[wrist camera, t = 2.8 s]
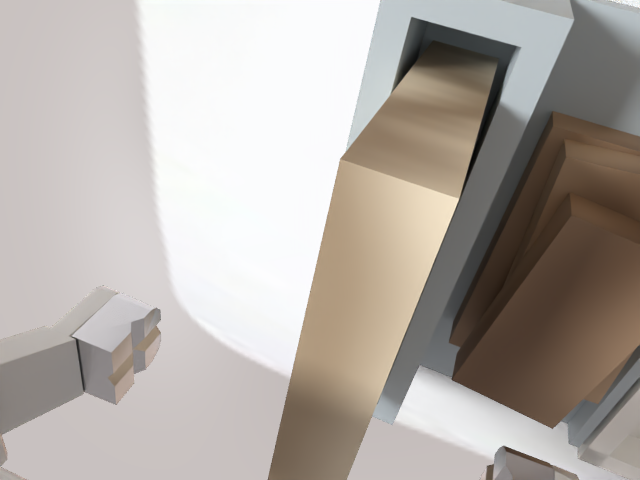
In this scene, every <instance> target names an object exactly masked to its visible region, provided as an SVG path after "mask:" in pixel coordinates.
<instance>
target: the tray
mask: <svg viewBox="0 0 640 480" xmlns="http://www.w3.org/2000/svg"><path fill="white" fill-rule="evenodd" d="M577 448H578V459H580V460H583V461H585V462H588V463H590V464H593V465H595V466H597V467H600V468H602V469H605V470H607V471H610V472H612V473H615V474H617V475H620V476H622V477H624V478H627V479H629V480H640V377H639V378H638V379H637V380H636V382H635V383H634V384H633V385H632V386H631V387H630V389H629V390H628V391H627V392H626V393H625V394H624V396H623V397H622V398H621V399H620V400H619V401H618V403H617V404H616V405H615V406H614V407H613V408H612V410H611V411H610V412H609V413H608V414H607V415H606V417H605V418H604V419H603V420H602V421H601V422H600V424H599V425H598V426H597V427H596V428H595V429H594V431H593V432H592V433H591V434H590V435H589V436H588V438H587V439H586V440H585V441H584V442H583V443H582V445H581V446H580V447H577Z"/></svg>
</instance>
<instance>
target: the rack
mask: <svg viewBox="0 0 640 480" xmlns="http://www.w3.org/2000/svg"><path fill="white" fill-rule="evenodd" d="M433 40H435V41H439V42H442V43H446V44H449V45H453V46H456V47H460V48H463V49H467V50H470V51H474V52H477V53H481V54H485V55H488V56H492V57H495V58H499V61H498V64H497V68H496V71H495V75H494V78H493V82H492V85H491V89H490V92H489V96H488V100H487V103H486V107H485V110H484V114H483V117H482V121H481V124H480V128H479V131H478V135H477V138H476V142H475V145H474V149H473V152H472V156H471V160H470V163H469V167H468V170H467V174H466V177H465V181H464V184H463V188H462V191H461V195H460V198H459V201H458V203H457V206H456V208H455V211H454V213H453V216H452V218H451V221H450V223H449V226H448V228H447V231H446V233H445V236H444V238H443V241H442V243H441V246H440V248H439V251H438V253H437V256H436V258H435V261H434V263H433V266H432V268H431V271H430V273H429V276H428V278H427V281H426V283H425V286H424V288H423V291H422V293H421V296H420V298H419V301H418V303H417V306H416V308H415V311H414V313H413V315H412V318H411V320H410V323H409V325H408V328H407V330H406V333H405V335H404V338H403V340H402V343H401V345H400V348H399V350H398V353H397V355H396V358H395V360H394V363H393V365H392V368H391V370H390V373H389V375H388V378H387V380H386V383H385V385H384V388H383V390H382V393H381V395H380V398H379V400H378V403H377V405H376V408H375V410H374V413H373V415H372V417H375V418H377V419H380V420H382V421H384V422H387V423H389V424H391V425H392V424H393V422H394V420H395V418H396V416H397V414H398V411H399V409H400V407H401V405H402V402H403V400H404V398H405V396H406V394H407V391H408V389H409V387H410V385H411V382H412V380H413V378H414V376H415V373H416V371H417V369H418V367H419V365H422V366H424V367H427V368H429V369H432V370H434V371H437V372H439V373H442V374H445V375H447V376H450V377H452V375H453V370H454V365H455V360H456V355H457V352H458V350H459V349H460V348H461V347H458V346H455V345H453V344H450V343H449V339H450V334H451V330H452V325H453V321H454V319H455V316H456V314H457V312H458V310H459V308H460V306H461V304H462V302H463V299H464V297H465V295H466V293H467V291H468V289H469V287H470V285H471V283H472V280H473V278H474V276H475V274H476V272H477V270H478V268H479V266H480V264H481V261H482V259H483V257H484V255H485V253H486V251H487V249H488V247H489V244H490V242H491V240H492V238H493V236H494V234H495V232H496V230H497V228H498V225H499V223H500V221H501V219H502V217H503V215H504V213H505V211H506V208H507V206H508V204H509V202H510V200H511V198H512V196H513V194H514V192H515V189H516V187H517V185H518V183H519V181H520V179H521V177H522V175H523V172H524V170H525V168H526V166H527V164H528V162H529V160H530V158H531V156H532V153H533V151H534V149H535V147H536V145H537V143H538V141H539V139H540V137H541V134H542V132H543V130H544V128H545V126H546V124H547V122H548V120H549V117H550V115H551V113H552V111H555V112H558V113H562V114H565V115H569V116H572V117H575V118H579V119H582V120H586V121H589V122H592V123H596V124H599V125H603V126H606V127H609V128H613V129H616V130H619V131H623V132H626V133H630V134H633V135H636V136H640V8H636V7H632V6H628V5H624V4H620V3H616V2H612V1H608V0H381V1H380V5H379V10H378V14H377V18H376V23H375V27H374V31H373V36H372V40H371V44H370V49H369V53H368V57H367V61H366V66H365V70H364V74H363V79H362V83H361V87H360V92H359V96H358V100H357V105H356V109H355V113H354V118H353V122H352V126H351V131H350V135H349V139H348V144H347V148H346V151H347V150H348V149H349V147H350V146H351V145H352V143H353V142H354V141H355V140H356V138H357V137H358V136H359V134H360V133H361V132H362V131H363V129H364V128H365V127H366V125H367V124H368V123H369V122H370V120H371V119H372V118H373V117H374V115H375V114H376V113H377V111H378V110H379V109H380V108H381V106H382V105H383V104H384V102H385V101H386V100H387V99H388V97H389V96H390V95H391V93H392V92H393V91H394V90H395V88H396V87H397V86H398V84H399V83H400V82H401V81H402V79H403V78H404V77H405V76H406V74H407V73H408V72H409V70H410V69H411V68H412V67H413V65H414V64H415V63H416V61H417V60H418V59H419V58H420V56H421V55H422V54H423V52H424V51H425V50H426V49H427V47H428V46H429V45H430V43H431V42H432V41H433ZM639 377H640V345H639V346H638V347H637V348H636V349H635V351H634V352H633V353H632V355H631V356H630V358H629V359H628V361H627V362H626V364H625V365H624V367H623V368H622V370H621V371H620V373H619V374H618V376H617V377H616V379H615V380H614V382H613V383H612V385H611V386H610V388H609V389H608V391H607V392H606V394H605V395H604V397H603V398H602V400H601V401H600V402H599V404H596V403H593V402H590V401H587V400H584V399H583V400H582V401H581V402H580V403H579V404H578V405H577V406H576V407H575V408H574V409H573V410H571V411H570V412H569V413H568V414H567V415H566V416H565V417H564V418H563V419H562V420H561V421H563V422H565V423H568V439H569V444H571V445H574V446H576V447H580V446H581V445H582V443H583V442H584V441H585V440H586V439H587V438H588V436H589V435H590V434H591V433H592V432H593V431H594V429H595V428H596V427H597V426H598V425H599V424H600V422H601V421H602V420H603V419H604V418H605V417H606V415H607V414H608V413H609V412H610V411H611V410H612V408H613V407H614V406H615V405H616V404H617V403H618V401H619V400H620V399H621V398H622V397H623V396H624V394H625V393H626V392H627V391H628V390H629V389H630V387H631V386H632V385H633V384H634V383H635V382H636V380H637V379H638V378H639Z"/></svg>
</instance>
